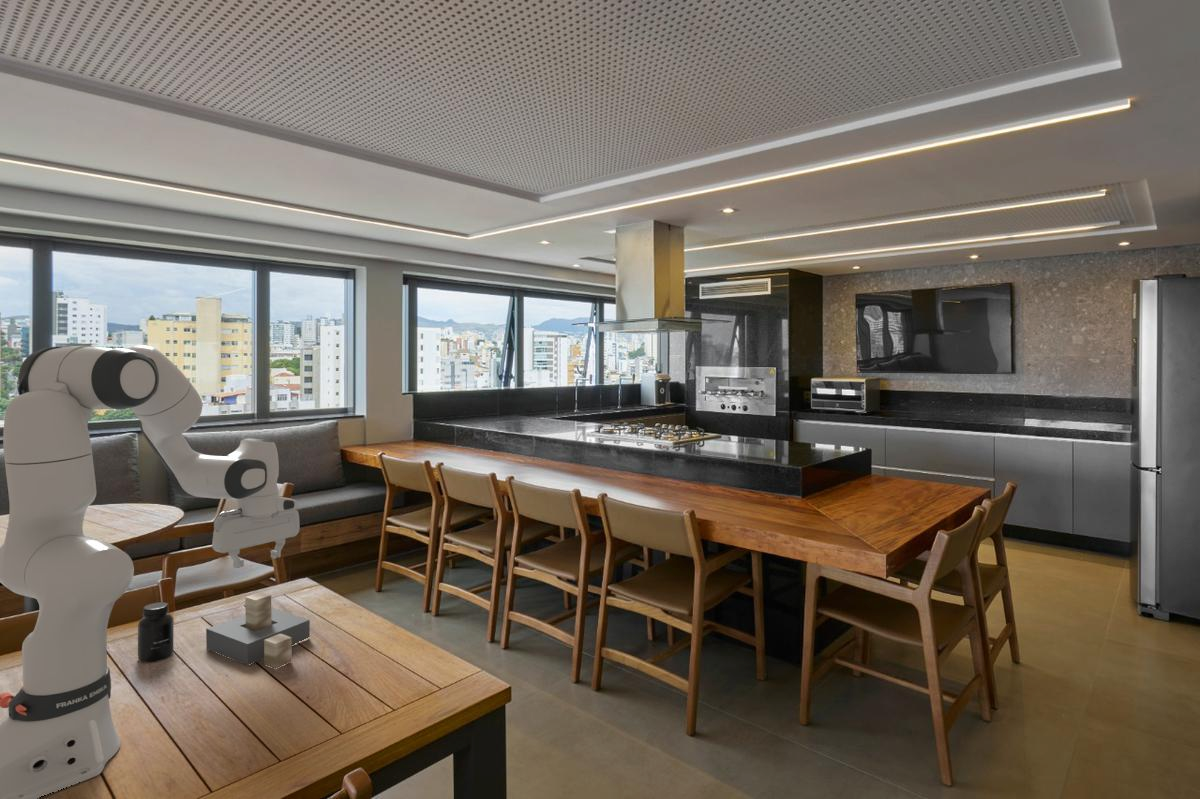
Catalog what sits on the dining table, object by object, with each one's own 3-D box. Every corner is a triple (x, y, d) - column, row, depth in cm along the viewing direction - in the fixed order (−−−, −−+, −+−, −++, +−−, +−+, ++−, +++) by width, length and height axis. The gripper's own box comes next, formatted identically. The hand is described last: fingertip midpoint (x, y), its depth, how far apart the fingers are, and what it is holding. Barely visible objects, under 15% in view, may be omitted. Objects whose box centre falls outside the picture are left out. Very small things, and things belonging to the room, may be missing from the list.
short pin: (275, 670, 143) (275, 643, 143) (264, 665, 145) (264, 639, 145) (291, 662, 147) (291, 637, 147) (280, 658, 149) (280, 633, 148)
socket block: (247, 665, 145) (247, 644, 145) (206, 649, 153) (206, 628, 152) (309, 639, 159) (309, 619, 159) (269, 625, 167) (268, 606, 166)
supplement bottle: (160, 663, 145) (159, 612, 144) (130, 662, 145) (129, 611, 144) (180, 650, 152) (179, 600, 151) (152, 649, 152) (151, 599, 151)
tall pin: (256, 649, 153) (255, 600, 152) (245, 645, 155) (245, 597, 154) (271, 643, 157) (271, 595, 156) (261, 639, 158) (261, 591, 158)
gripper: (222, 515, 143) (222, 576, 144) (303, 500, 161) (303, 554, 162) (206, 511, 146) (206, 571, 147) (287, 497, 164) (287, 550, 165)
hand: (257, 562), depth 154 cm, fingers open, 8 cm apart
